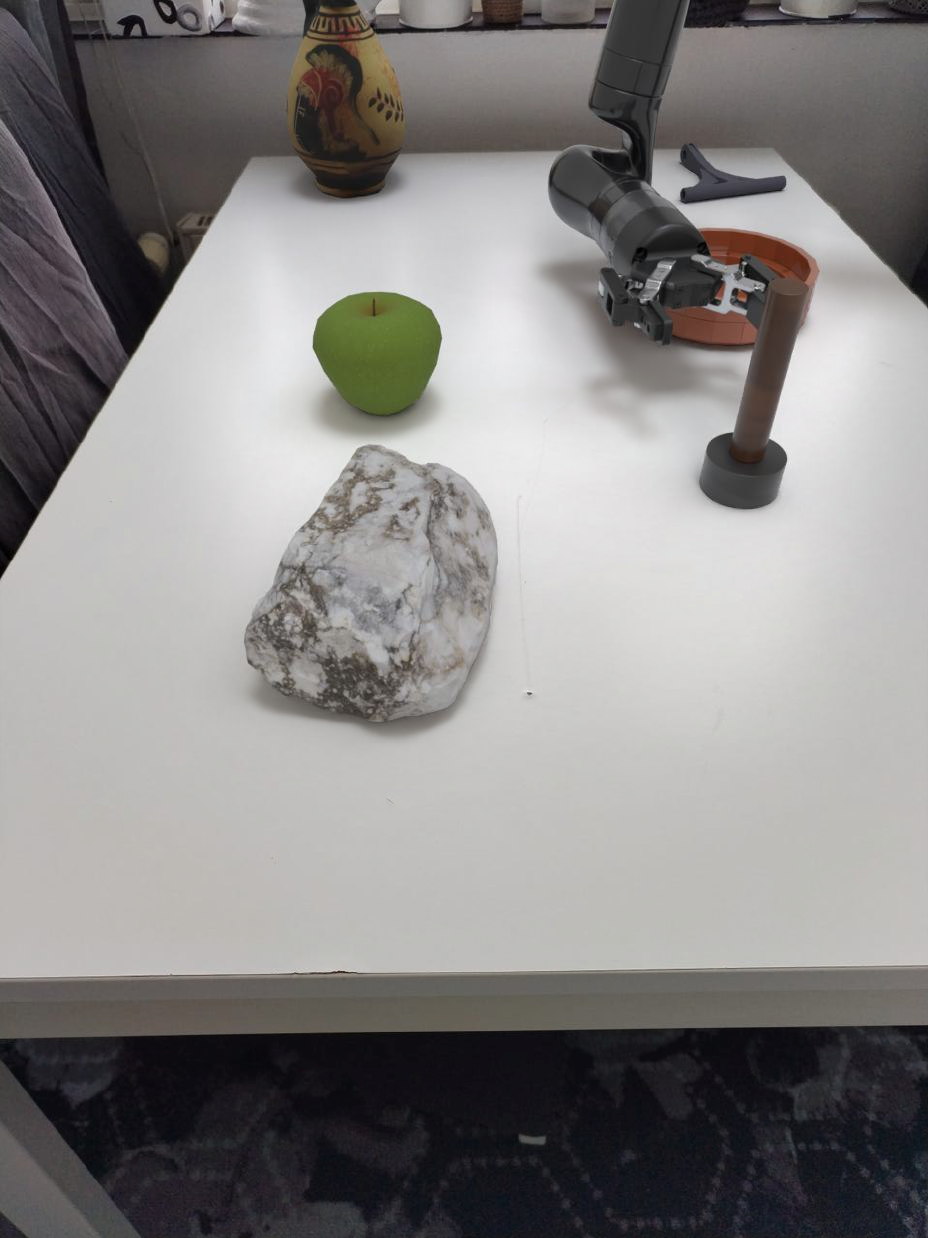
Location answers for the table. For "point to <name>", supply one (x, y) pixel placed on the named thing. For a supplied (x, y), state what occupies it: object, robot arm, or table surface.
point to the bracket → (720, 179)
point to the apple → (378, 349)
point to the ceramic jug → (344, 101)
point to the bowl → (734, 325)
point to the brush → (758, 408)
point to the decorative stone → (380, 592)
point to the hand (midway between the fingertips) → (720, 329)
